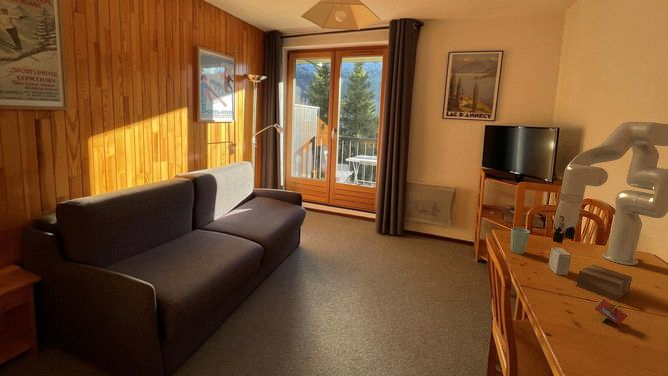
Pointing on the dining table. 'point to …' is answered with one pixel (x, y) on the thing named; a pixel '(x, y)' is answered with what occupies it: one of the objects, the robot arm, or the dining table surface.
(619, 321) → the geometric puzzle
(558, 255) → the medicine box
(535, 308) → the dining table surface
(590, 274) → the walnut block
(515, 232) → the cup
